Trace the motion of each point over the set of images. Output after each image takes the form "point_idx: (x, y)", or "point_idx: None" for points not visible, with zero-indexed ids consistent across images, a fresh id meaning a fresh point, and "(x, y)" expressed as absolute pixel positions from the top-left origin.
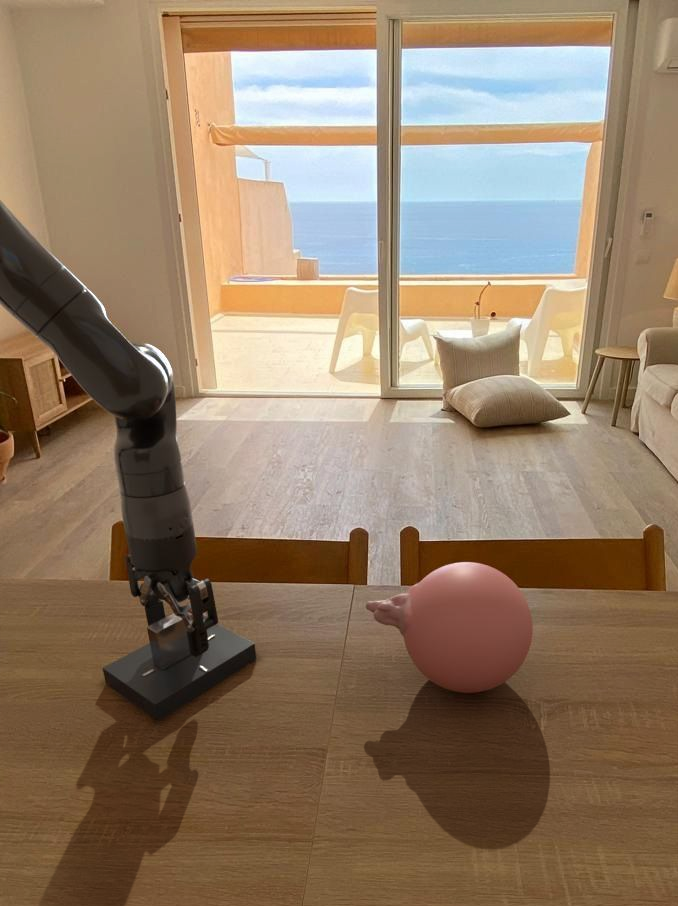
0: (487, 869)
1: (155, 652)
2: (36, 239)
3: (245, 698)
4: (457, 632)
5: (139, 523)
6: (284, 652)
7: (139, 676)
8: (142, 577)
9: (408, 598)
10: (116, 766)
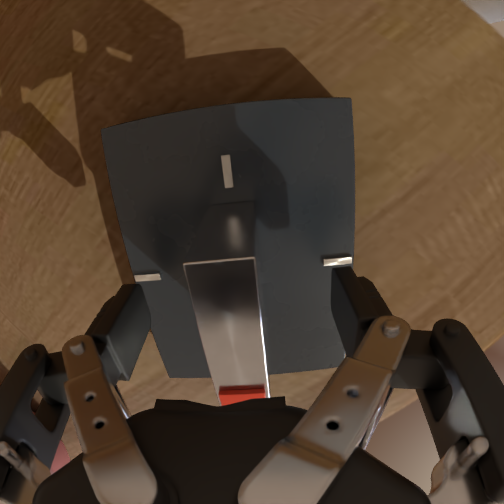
0: None
1: (227, 219)
2: None
3: (88, 281)
4: None
5: None
6: (166, 382)
7: (234, 147)
8: (446, 412)
9: None
10: (75, 27)
